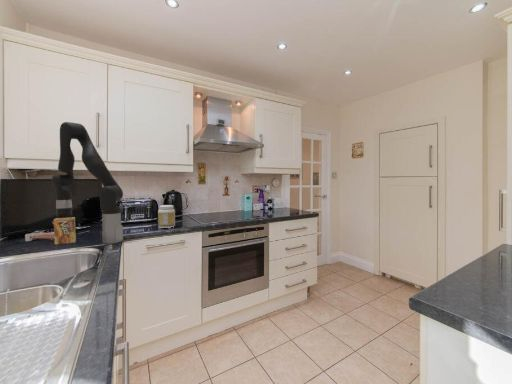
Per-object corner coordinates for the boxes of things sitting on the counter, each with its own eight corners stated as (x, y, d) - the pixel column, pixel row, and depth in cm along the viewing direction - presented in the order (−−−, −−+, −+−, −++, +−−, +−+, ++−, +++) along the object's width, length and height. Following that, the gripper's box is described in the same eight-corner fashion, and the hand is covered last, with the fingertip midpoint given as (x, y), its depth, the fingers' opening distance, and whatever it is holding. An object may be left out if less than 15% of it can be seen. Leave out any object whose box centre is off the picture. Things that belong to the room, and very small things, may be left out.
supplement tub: (159, 226, 182) (159, 205, 181) (175, 225, 185) (175, 204, 184) (157, 229, 170) (156, 206, 169) (174, 228, 174) (174, 206, 173)
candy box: (76, 243, 132) (75, 217, 132) (75, 245, 129) (74, 218, 128) (56, 245, 128) (55, 218, 127) (54, 247, 124) (53, 219, 123)
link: (29, 238, 137) (29, 233, 137) (37, 236, 142) (37, 231, 141) (63, 239, 135) (63, 234, 135) (70, 237, 140) (70, 232, 140)
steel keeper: (18, 241, 130) (17, 234, 130) (37, 237, 140) (37, 230, 140) (34, 242, 129) (34, 235, 129) (52, 237, 140) (52, 230, 140)
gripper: (72, 205, 148) (73, 232, 149) (47, 208, 136) (48, 236, 137) (79, 206, 145) (80, 233, 146) (55, 208, 133) (56, 238, 134)
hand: (65, 234), depth 141 cm, fingers closed
